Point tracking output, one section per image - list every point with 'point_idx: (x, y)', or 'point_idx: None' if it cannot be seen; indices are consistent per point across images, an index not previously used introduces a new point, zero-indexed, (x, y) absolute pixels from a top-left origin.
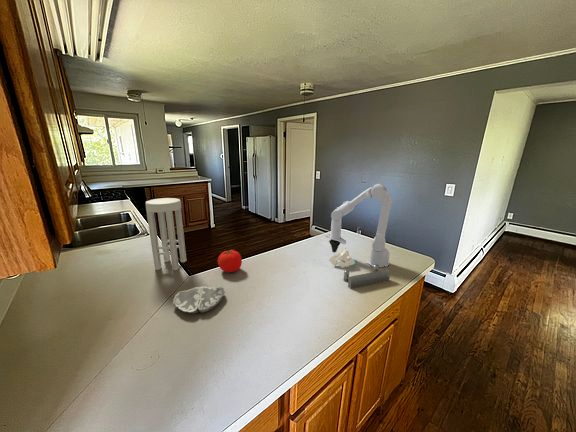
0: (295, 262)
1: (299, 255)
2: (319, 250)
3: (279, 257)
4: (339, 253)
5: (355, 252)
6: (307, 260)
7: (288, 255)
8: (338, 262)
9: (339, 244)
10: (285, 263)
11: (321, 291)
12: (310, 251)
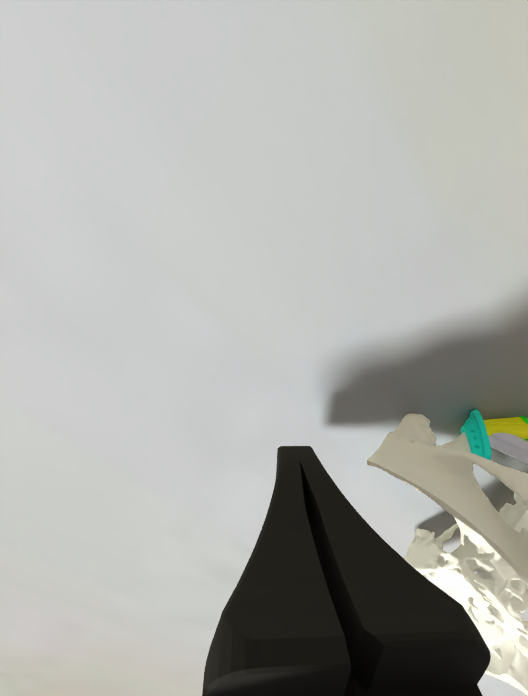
0: (186, 660)
1: (92, 610)
2: (59, 439)
3: (65, 688)
4: (384, 464)
5: (426, 13)
6: (205, 609)
7: (57, 652)
8: (472, 568)
9: (400, 558)
10: (166, 692)
11: (495, 687)
12: (47, 518)
